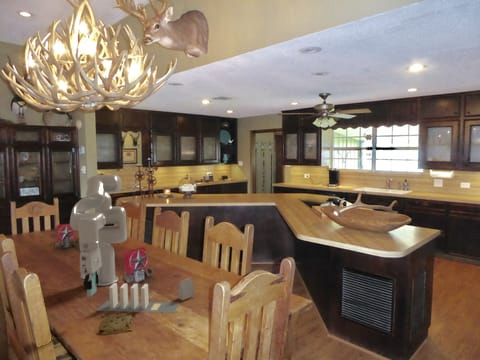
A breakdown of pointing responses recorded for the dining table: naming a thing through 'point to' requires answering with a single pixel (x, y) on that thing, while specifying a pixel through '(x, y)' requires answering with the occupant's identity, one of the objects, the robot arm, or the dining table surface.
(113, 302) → the domino
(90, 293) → the domino
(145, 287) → the domino
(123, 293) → the domino
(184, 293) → the grey upright block
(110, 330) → the pastry
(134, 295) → the domino
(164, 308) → the board
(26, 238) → the dining table surface
